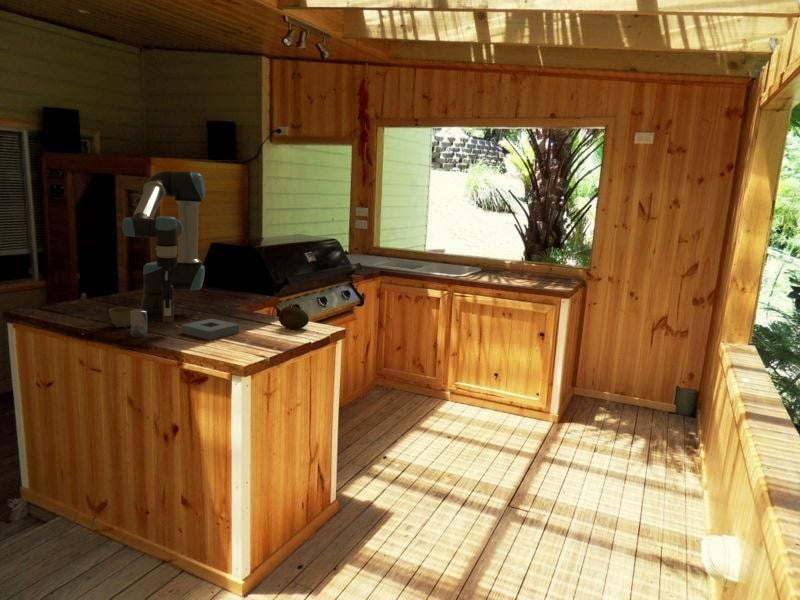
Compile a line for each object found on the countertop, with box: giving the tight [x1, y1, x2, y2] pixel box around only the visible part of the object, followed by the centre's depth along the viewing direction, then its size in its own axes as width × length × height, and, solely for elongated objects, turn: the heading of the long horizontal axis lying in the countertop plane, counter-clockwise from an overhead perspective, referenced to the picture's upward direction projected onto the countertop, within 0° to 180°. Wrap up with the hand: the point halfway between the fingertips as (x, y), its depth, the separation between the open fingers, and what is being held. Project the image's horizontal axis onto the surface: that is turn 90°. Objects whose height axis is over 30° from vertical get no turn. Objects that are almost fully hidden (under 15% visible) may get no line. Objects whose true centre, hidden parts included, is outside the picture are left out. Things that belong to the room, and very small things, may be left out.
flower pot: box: [108, 306, 136, 328], centre depth 251 cm, size 10×10×7 cm
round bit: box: [130, 308, 149, 338], centre depth 238 cm, size 6×6×10 cm
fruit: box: [277, 306, 310, 330], centre depth 264 cm, size 12×12×10 cm
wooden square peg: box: [161, 285, 175, 323], centre depth 241 cm, size 4×4×14 cm
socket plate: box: [180, 318, 240, 341], centre depth 249 cm, size 16×16×4 cm
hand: (168, 314), depth 242 cm, fingers closed on wooden square peg, 4 cm apart
